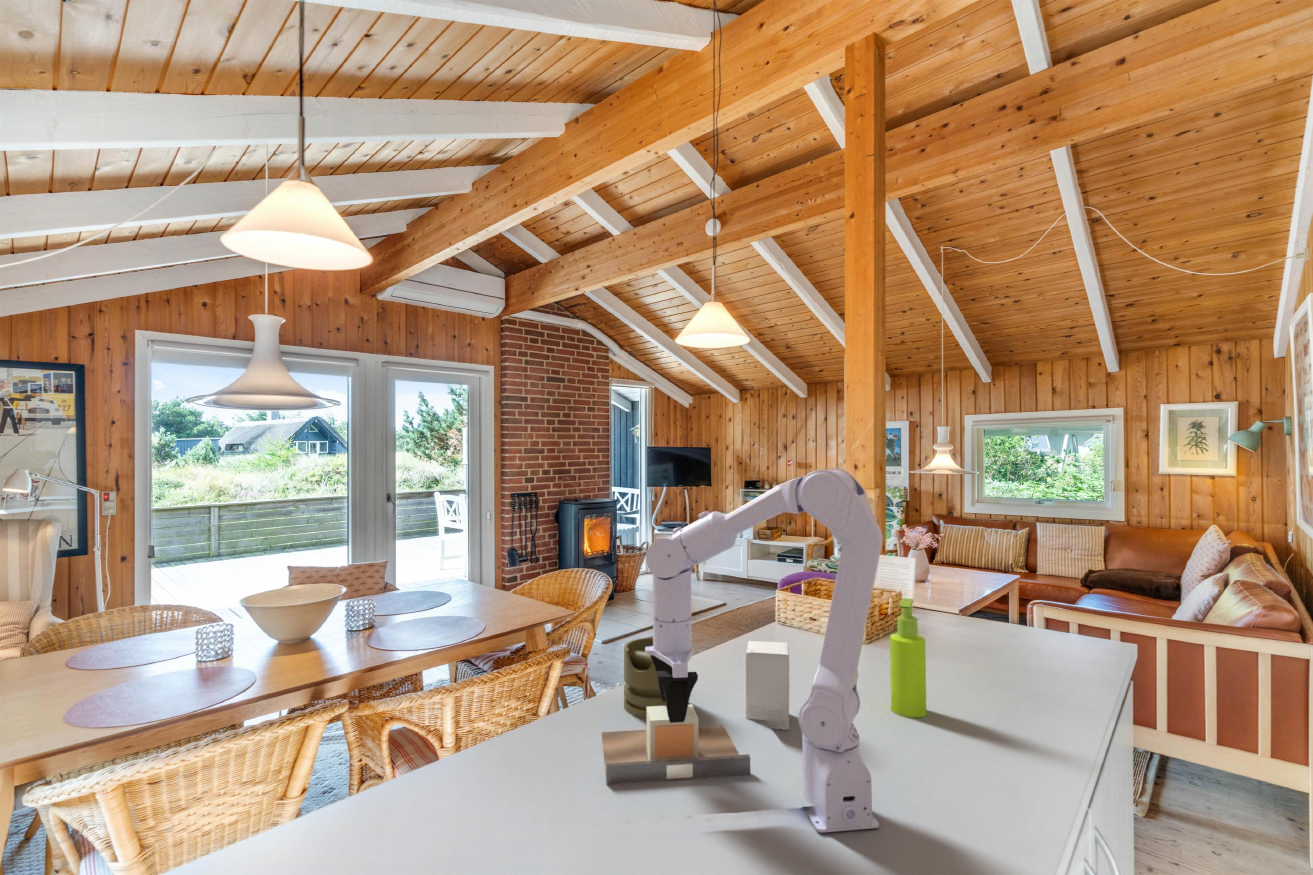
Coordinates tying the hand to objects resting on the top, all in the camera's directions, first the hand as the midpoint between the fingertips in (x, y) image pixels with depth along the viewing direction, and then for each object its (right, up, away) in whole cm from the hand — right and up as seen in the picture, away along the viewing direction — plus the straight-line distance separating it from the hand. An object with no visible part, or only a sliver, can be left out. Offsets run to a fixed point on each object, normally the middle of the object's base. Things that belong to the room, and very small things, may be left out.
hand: (672, 710), depth 92 cm
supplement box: (+17, -9, +16) cm, 25 cm away
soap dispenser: (+43, -9, +20) cm, 48 cm away
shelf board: (0, -8, +1) cm, 8 cm away
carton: (0, -7, 0) cm, 7 cm away
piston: (-3, -9, +19) cm, 21 cm away
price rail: (+1, -7, -6) cm, 9 cm away
